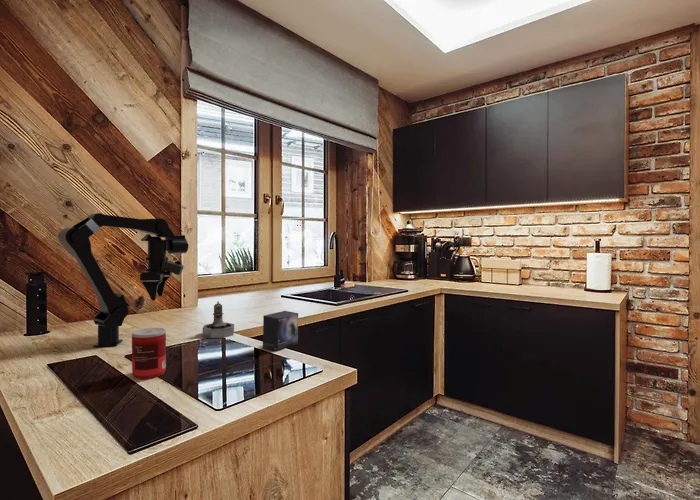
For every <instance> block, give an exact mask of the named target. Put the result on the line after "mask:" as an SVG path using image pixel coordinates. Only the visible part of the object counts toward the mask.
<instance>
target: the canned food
mask: <svg viewBox="0 0 700 500" xmlns="http://www.w3.org/2000/svg"><path fill="white" fill-rule="evenodd" d="M166 331H167V330H166V329H165V328H163V327H146V328H140V329H139V328H138V329H136V330H134V331H132V332H131V373H132V377H133V376H134V377H133V378H134V379H137V378H141V379H140V380H147V379H148V378H150V379H155V378H158V377H160V375H161V376H162V375H164V374H165V372H166V369H167V359H166V358H167V332H166ZM157 376H158V377H157ZM154 377H155V378H154Z"/></svg>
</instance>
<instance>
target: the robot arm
mask: <svg viewBox="0 0 700 500" xmlns="http://www.w3.org/2000/svg"><path fill="white" fill-rule="evenodd" d="M102 227H108V228H117V229H124V230H125V229H126V230H135V231H139V232H141V233H143V234H144V233H145V235H144V237H142V238H140V240H141V242H147V257H145V261H147V268H146V269H145V270H144V271H143V272H141V273H140V274H139V281H141V284H142V285H143V286H144V288H145V290H146V293H147V295H148V296H149V298H150V300H151V301H153V302H154V301H156V300H157V295H158V297H163V294H164V291H165V287H166V283H167V281H169V279H170V278H171V276H172V275H173V274H174V275H177V276H180V275H181V274H182V272H183V270H184V267H185V266H184V265H183V262H182V261H181V260H176V261H174V262H173V261H170V260H169V257H168V256H167V254H166V253H168V254H169V255H170V254H174V255H175V254H187V252H188V250H189V243H188V240H187V239H186V235H183V234H178V235H175V234H174V232H173V231H172V229H171V228H170V226H169V223H168V221H167V220H166V219H165V218H135V217H127V216H121V215H120V216H119V215H118V216H117V215H111V214H105V213H101V212H99V213H97V212H96V213H91V214H90V215H88V216H87V217H86V218H85V219H82V220H81V221H79V222H77V223H76V224H74V225H72V226H71V227H65V228H62V229H61V230H60V231H59V233H58V235H57V239H58V241H59V243H60V244H61V245H62V246H63V248H64V249H65V250H66V251H67V252H68V253H69V254H70V255H72V256H73V257H74V259H75V260H76V261H77V263H78V265H79V267H80V269H81V270H82V272H83V273H84V275H85V277H86V279H87V281H88V282H89V284H90V286H91V288H92V289H93V291H94V292H95V294H96V296H97V298H98V306H99V310H100V311H99V312H98V313H97V314H96V315H95V316H94V317H93V318H92V321H93V323H94V324H95V325H97V342H96V343H95V344H94V345H93V348H102V347H105V348H106V347H117V346H118V345H119V344H121V343H122V342H123V341H124V339H123V338H122V339H119V338H120V335H119V334H120V330H119V329H120V327H121V326H123V324H124V323H123V322H124V320H125V319H126V318H127V316H128V314H129V312H130V309H129V306H130V304H129V303H127V301H126V298H125V296H124V294H121V293H117V292H116V293H115V292H114V290H113V288H112V287H111V284H109V282H108V280H107V278H106V276H105V274H104V272H103V271H102V269H101V267H100V265H99V263H98V261H97V260H96V258H95V256H94V255H93V253H92V244H91V241H90V237H91V236H92V235H94V234H95V233H96V232H97V231H98V230H99V229H100V228H102ZM153 235H155V236H153ZM162 238H164V239H162Z"/></svg>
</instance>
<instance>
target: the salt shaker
mask: <svg viewBox="0 0 700 500" xmlns="http://www.w3.org/2000/svg"><path fill="white" fill-rule="evenodd" d="M216 302H217V303H216V304H214V305H213V313H212V315H213V321H212V323H209V324H210V325H209V326H210V328H211V329H222V328H226V325H227V324H226V323H227V322H224V320H223V315H224V313H223V305H222V304H221V303H220V301H219V300H218V301H216Z"/></svg>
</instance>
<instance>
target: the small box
mask: <svg viewBox="0 0 700 500" xmlns="http://www.w3.org/2000/svg"><path fill="white" fill-rule="evenodd" d="M262 318H263V320H262V321H263V324H262V330H263V332H262V349H266V350H271V351H275V352H278V351H281V350H283V349H286V348H289V347H293V346H295V345H297V344H299V313H298V312H293V311H288V310H282V311H278V312H273V313H270V314H269V313H268V314H264V315H263V317H262Z"/></svg>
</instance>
